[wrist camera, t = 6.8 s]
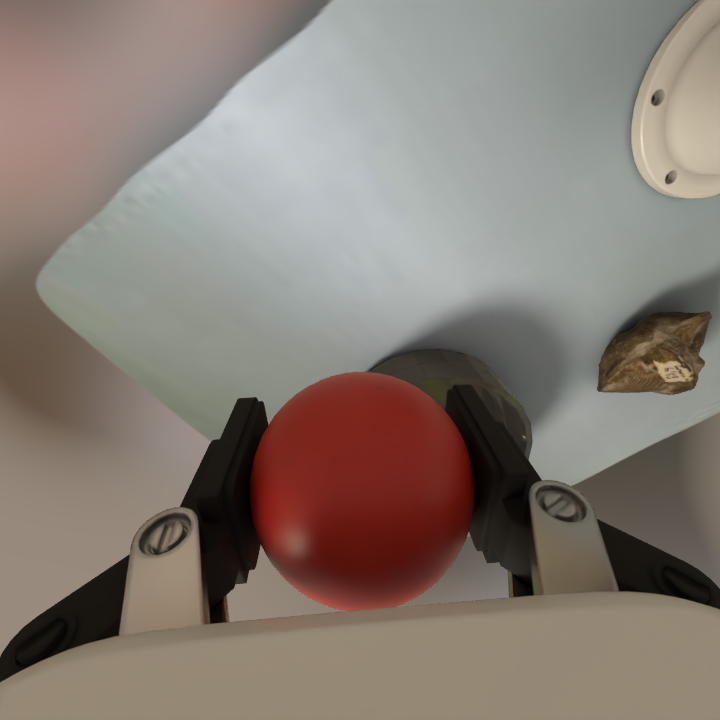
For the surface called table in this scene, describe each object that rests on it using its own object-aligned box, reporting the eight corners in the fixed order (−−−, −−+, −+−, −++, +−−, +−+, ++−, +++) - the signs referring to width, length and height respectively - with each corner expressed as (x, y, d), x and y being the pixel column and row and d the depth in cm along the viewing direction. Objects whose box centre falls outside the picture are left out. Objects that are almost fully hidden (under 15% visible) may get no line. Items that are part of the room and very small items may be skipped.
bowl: (516, 340, 31) (550, 369, 27) (492, 475, 39) (515, 516, 34) (331, 354, 31) (331, 386, 26) (344, 488, 39) (346, 533, 34)
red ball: (446, 332, 11) (549, 475, 6) (433, 469, 14) (494, 652, 8) (256, 342, 11) (179, 502, 5) (283, 480, 14) (249, 674, 8)
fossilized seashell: (713, 282, 27) (578, 331, 31) (778, 351, 24) (620, 399, 27) (682, 325, 34) (573, 362, 37) (731, 385, 30) (607, 420, 33)
